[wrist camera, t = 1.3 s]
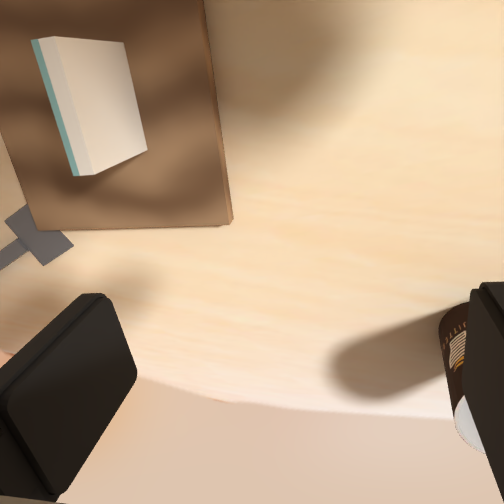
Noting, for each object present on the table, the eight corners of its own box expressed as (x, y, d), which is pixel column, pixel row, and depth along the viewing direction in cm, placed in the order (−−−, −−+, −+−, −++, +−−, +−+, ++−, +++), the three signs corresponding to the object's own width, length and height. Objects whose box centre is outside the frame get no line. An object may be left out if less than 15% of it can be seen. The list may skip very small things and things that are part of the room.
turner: (-58, 268, 44) (-65, 272, 43) (59, 181, 38) (53, 183, 37) (-20, 307, 46) (-27, 312, 45) (97, 230, 40) (92, 233, 39)
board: (-47, -33, 30) (-64, -38, 29) (190, -87, 26) (182, -95, 24) (47, 225, 39) (38, 230, 38) (233, 218, 35) (229, 225, 34)
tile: (104, 45, 29) (30, 40, 22) (123, 42, 29) (54, 36, 22) (130, 151, 32) (73, 176, 25) (147, 150, 32) (94, 174, 25)
